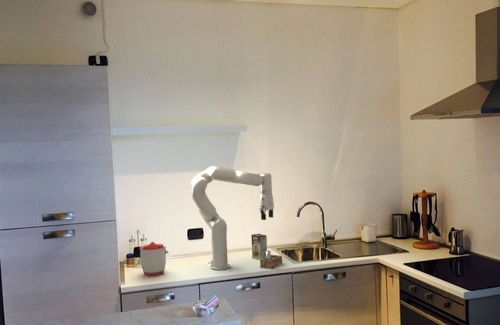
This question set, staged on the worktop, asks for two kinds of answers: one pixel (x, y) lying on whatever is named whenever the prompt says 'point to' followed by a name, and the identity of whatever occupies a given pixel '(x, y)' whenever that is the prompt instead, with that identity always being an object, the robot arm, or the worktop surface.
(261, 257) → the coffee box
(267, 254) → the pin
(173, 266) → the worktop surface
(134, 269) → the worktop surface
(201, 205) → the robot arm
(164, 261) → the citrus juicer
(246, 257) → the worktop surface
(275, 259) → the hole block
